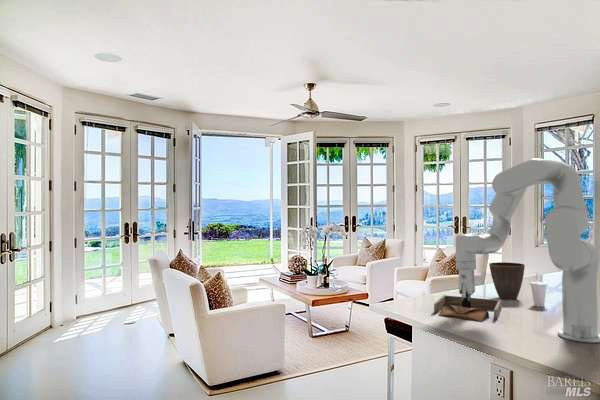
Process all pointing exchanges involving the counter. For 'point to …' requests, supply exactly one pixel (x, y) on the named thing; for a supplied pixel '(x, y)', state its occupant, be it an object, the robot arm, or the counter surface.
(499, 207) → the robot arm
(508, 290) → the plant pot
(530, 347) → the counter surface
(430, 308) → the counter surface
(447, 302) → the walnut bracket
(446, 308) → the sunglasses case
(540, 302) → the smoothie
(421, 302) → the counter surface
